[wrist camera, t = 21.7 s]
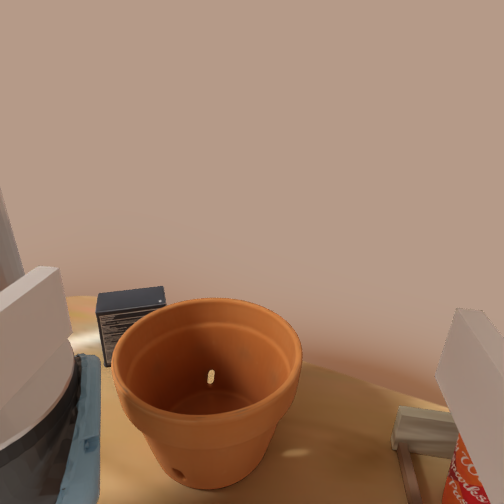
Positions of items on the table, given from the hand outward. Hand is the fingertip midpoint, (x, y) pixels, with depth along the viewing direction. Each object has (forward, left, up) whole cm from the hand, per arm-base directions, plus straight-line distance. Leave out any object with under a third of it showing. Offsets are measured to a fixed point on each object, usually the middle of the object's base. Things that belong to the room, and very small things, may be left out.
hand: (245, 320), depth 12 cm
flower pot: (+16, +18, -35) cm, 42 cm away
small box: (+20, +39, -35) cm, 56 cm away
